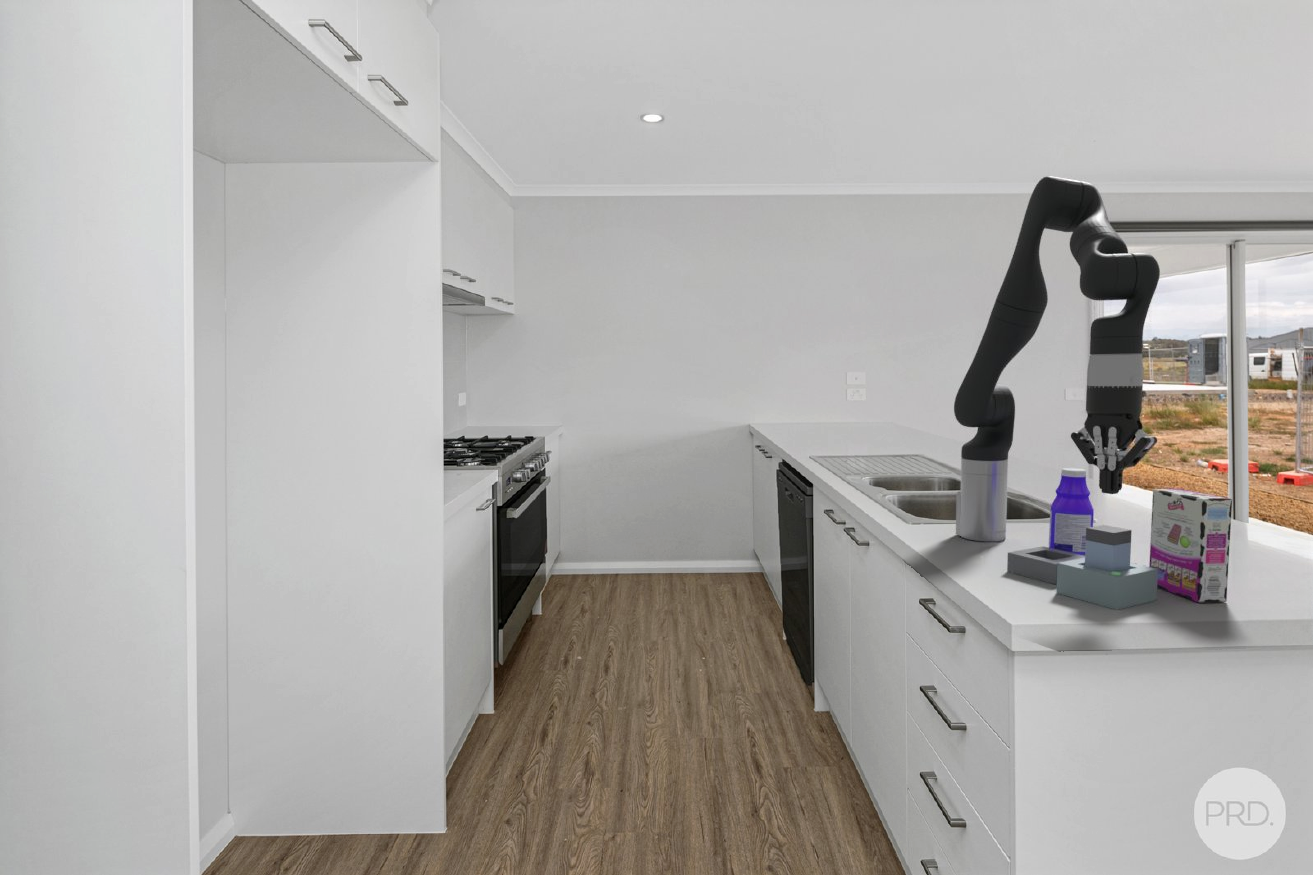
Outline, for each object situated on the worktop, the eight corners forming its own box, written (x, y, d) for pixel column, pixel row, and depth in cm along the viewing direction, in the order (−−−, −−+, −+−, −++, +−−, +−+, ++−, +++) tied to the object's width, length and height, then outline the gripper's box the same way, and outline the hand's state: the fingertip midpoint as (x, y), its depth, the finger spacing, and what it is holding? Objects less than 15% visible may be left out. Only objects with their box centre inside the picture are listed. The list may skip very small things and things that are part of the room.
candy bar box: (1229, 603, 118) (1235, 498, 116) (1199, 604, 117) (1204, 499, 116) (1174, 582, 129) (1178, 487, 127) (1146, 584, 128) (1150, 488, 127)
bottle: (1088, 557, 147) (1091, 467, 145) (1094, 564, 141) (1098, 471, 140) (1046, 554, 149) (1049, 466, 148) (1051, 561, 144) (1054, 470, 142)
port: (1056, 592, 124) (1057, 560, 123) (1095, 584, 128) (1096, 553, 128) (1117, 609, 115) (1118, 574, 115) (1156, 600, 119) (1158, 566, 119)
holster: (1007, 571, 137) (1007, 552, 137) (1042, 564, 141) (1042, 546, 141) (1055, 584, 129) (1056, 564, 128) (1091, 576, 133) (1091, 557, 133)
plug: (1083, 588, 123) (1086, 527, 122) (1101, 584, 125) (1103, 524, 124) (1111, 596, 119) (1113, 533, 118) (1128, 591, 121) (1131, 530, 120)
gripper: (1173, 383, 114) (1167, 497, 116) (1089, 382, 126) (1085, 485, 128) (1142, 384, 111) (1137, 501, 113) (1059, 383, 123) (1056, 489, 124)
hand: (1109, 493), depth 120 cm, fingers closed
